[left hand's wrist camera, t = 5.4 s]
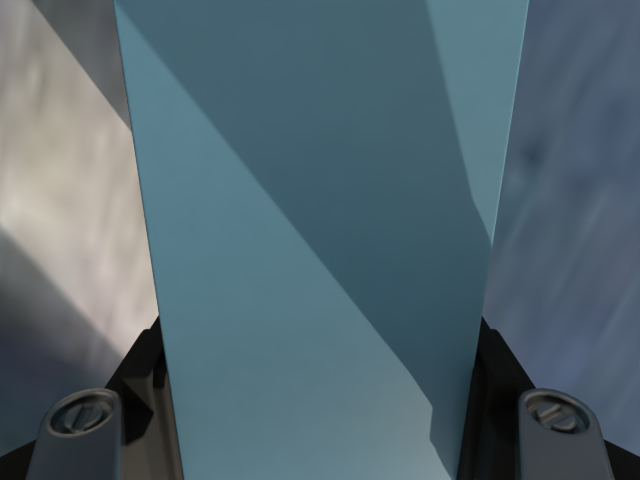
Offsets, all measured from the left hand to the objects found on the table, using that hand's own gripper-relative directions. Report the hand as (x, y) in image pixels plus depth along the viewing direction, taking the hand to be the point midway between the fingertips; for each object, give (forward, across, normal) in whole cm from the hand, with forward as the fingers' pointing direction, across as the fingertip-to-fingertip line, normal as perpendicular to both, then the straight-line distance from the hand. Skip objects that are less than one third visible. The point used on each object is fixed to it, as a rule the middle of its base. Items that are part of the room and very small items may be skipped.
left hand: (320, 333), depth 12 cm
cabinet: (+8, 0, -6) cm, 10 cm away
